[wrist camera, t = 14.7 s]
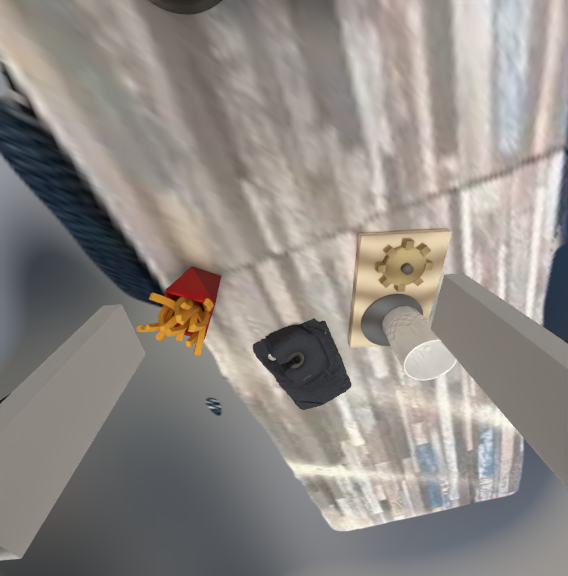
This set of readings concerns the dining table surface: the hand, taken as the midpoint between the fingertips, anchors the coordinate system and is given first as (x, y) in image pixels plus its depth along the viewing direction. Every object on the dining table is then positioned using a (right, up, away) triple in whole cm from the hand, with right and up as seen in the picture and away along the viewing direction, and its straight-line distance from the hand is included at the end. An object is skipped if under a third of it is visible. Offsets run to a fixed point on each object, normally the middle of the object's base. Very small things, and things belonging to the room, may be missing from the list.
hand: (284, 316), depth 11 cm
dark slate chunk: (+4, -15, +43) cm, 45 cm away
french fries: (-14, +3, +32) cm, 35 cm away
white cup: (+21, -5, +35) cm, 41 cm away
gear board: (+19, 0, +35) cm, 39 cm away
